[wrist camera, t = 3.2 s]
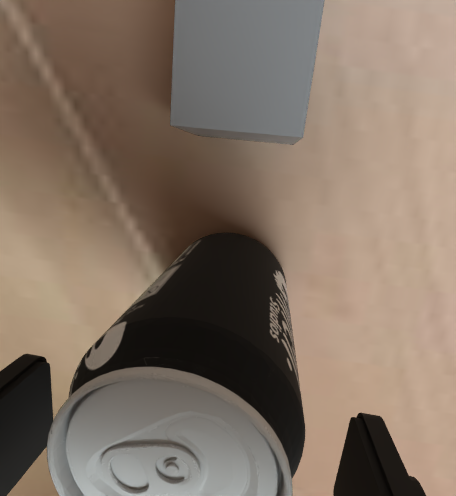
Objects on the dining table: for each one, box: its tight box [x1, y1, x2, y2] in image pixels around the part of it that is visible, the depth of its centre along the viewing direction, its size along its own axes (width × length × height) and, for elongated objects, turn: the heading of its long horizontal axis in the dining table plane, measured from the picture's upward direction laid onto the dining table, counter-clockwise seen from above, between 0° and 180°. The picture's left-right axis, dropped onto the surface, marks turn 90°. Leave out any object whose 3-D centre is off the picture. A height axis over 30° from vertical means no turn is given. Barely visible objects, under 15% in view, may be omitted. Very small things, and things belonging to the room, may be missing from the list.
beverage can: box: [47, 233, 305, 496], centre depth 13 cm, size 7×7×12 cm
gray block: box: [170, 0, 324, 145], centre depth 13 cm, size 5×5×5 cm
